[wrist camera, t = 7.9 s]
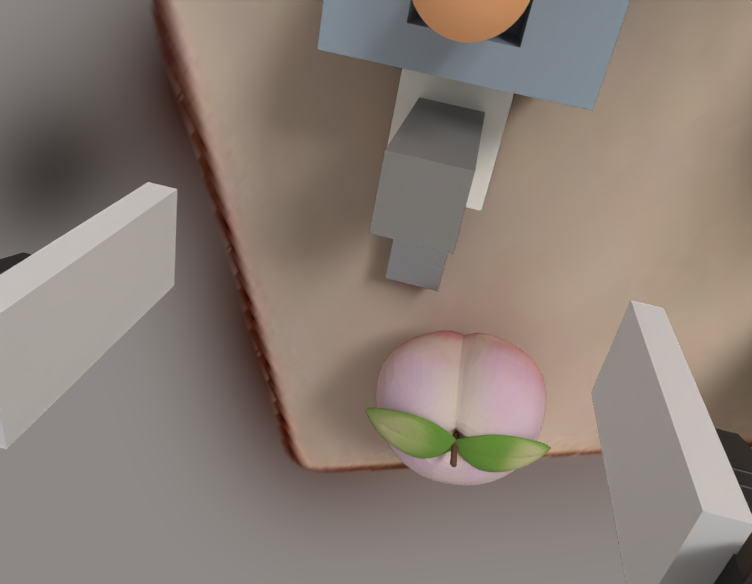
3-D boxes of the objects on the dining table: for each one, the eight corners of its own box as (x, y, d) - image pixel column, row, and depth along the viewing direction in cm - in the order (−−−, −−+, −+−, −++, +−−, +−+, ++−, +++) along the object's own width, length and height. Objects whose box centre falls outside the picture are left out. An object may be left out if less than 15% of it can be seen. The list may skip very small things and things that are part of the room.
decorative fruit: (391, 405, 43) (361, 521, 34) (389, 294, 39) (353, 392, 30) (539, 418, 41) (546, 543, 32) (550, 303, 37) (562, 410, 29)
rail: (436, 49, 32) (432, 54, 30) (496, 62, 32) (495, 68, 30) (390, 263, 38) (385, 278, 36) (441, 275, 38) (437, 291, 36)
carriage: (413, 46, 32) (359, 96, 21) (518, 69, 31) (521, 133, 20) (390, 163, 35) (332, 263, 23) (486, 186, 34) (473, 298, 23)
